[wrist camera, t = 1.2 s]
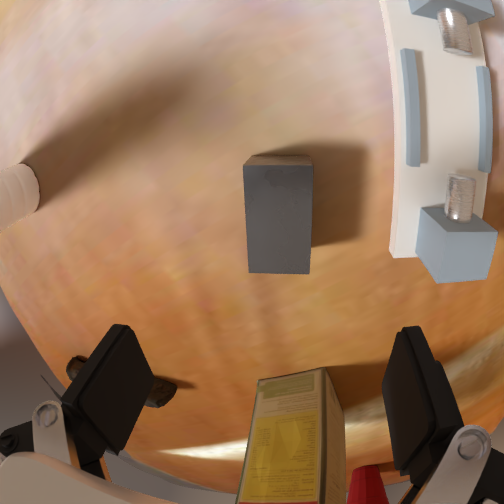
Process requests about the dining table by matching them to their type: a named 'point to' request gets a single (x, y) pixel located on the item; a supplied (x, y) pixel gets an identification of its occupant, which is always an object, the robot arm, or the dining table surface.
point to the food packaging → (295, 443)
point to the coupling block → (278, 213)
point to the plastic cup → (367, 487)
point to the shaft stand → (441, 135)
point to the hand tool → (156, 397)
